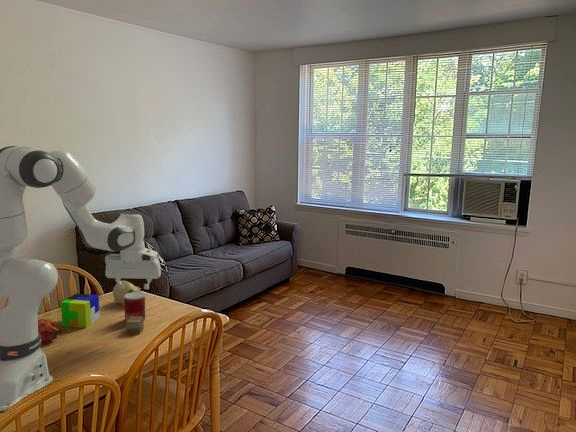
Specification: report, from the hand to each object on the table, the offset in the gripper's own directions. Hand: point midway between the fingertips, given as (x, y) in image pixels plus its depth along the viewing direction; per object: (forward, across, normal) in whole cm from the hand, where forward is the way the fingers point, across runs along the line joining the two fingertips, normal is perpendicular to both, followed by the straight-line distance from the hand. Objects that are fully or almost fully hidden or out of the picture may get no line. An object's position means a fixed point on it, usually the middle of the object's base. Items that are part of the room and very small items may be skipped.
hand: (134, 288), depth 168 cm
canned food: (+18, -3, +10) cm, 20 cm away
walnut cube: (+17, 0, 0) cm, 17 cm away
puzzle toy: (+18, -24, +8) cm, 31 cm away
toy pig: (+18, -12, +28) cm, 35 cm away
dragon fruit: (+17, -30, -8) cm, 36 cm away
